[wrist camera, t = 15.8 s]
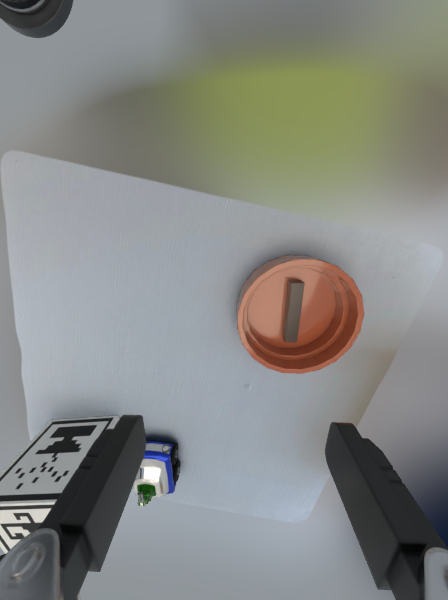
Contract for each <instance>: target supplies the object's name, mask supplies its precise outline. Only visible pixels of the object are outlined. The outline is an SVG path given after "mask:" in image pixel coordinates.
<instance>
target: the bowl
mask: <svg viewBox="0 0 448 600" xmlns="http://www.w3.org/2000/svg"><path fill="white" fill-rule="evenodd" d="M288 280H301V281H303V282H304V283H305V284H304V292H303V300H302V307H301V315H300V323H299V331H298V338H297V343H295V342H284V339H283V337H282V334H283V324H284V315H285V305H286V296H287V286H288ZM363 317H364V309H363V301H362V295H361V293H360V291H359V290H358V288H357V286H356V284H355V282H354V280H353V279H352V278H351V277H350V276H348V275H347V274H346V273H345V272H344V271H342V270H341V269H340V268H339V267H337V266H335V265H332V264H329V263H327V262H324V261H321V260H318V259H315V258H312V257H310V256H306V255H286V256H283V257H280V258H276V259H273V260H270V261H268V262H267V263H265V264H264V265H262V266H261V267H259V268H258V269H256V270H255V271H254V272H253V273H252V274H251V276H250V277H249V278H248V279H247V281H246V282H245V283H244V285H243V287H242V290H241V292H240V295H239V298H238V301H237V328H238V332H239V335H240V338H241V341H242V344H243V346H244V347H245V348H246V350H247V351H248V352H249V354H250V355H251V356H252V358H254V359H255V360H256V361H258V362H259V363H261V364H262V365H264V366H265V367H267V368H269V369H273V370H276V371H279V372H282V373H307V372H311V371H315V370H320V369H322V368H324V367H326V366H328V365H329V364H331V363H333V362H335V361H337V360H338V359H339V358H340V357H341V356H342V355H343V354H344V353H345V352H347V351H348V350H349V349H350V348H351V346H352V344H353V343H354V341H355V339H356V338H357V336H358V334H359V333H360V330H361V325H362V321H363Z"/></svg>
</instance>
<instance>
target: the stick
mask: <svg viewBox="0 0 448 600" xmlns="http://www.w3.org/2000/svg"><path fill="white" fill-rule="evenodd" d="M304 284H305V283H304V282H303V281H301V280H288V286H287V296H286V305H285V315H284V324H283V334H282V337H283V339H284V342H295V343H297V338H298V331H299V323H300V315H301V307H302V300H303V292H304Z"/></svg>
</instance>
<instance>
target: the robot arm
mask: <svg viewBox="0 0 448 600" xmlns="http://www.w3.org/2000/svg"><path fill="white" fill-rule="evenodd" d="M48 2H49V0H0V4H1V5H3V6H4V7H5V8H7V9H8V10H10V11H12V12H14V13H16V14H20V15H32V14H35V13H37V12H39V11H41V10H42V9H43V8H44V7H45V6H46V5H47V3H48ZM145 450H146V436H145V429H144V423H143V417H142V416H141V415H123V416H122V417H121V418H120V420H119V421H118V423H117V425H116V427H115V428H114V429H107V430H106V431H105V432H104V433H102V434H101V435H100V436H99V437H98V438H97V439H96V440H95V441H94V443H93V444H92V446H91V448H90V449H89V451H88V452H87V454H86V457H84V459H83V460H82V462H81V463H80V465H79V468H78V469H76V471H75V473H74V474H73V476H72V477H71V479H70V480H69V482H68V483H67V485H66V487H65V488H64V490H63V491H62V493H61V494H60V496H59V497H58V499H57V501H56V502H55V504H54V505H53V507H52V508H51V510H50V512H49V513H48V515H47V516H46V518H45V519H44V521H43V522H42V523H41V525H40V526H39V527H38V528H37V530H36V531H34V532H32V533H30V534H28V535H27V536H25V537H24V538H23V539H21V540H20V541H19V542H18V543H17V544H16V545H14V546H13V547H12V548H11V549H10V551H9V552H8V553H6V554H4V555H1V556H0V600H80V589H81V587H82V584H83V582H84V579H85V577H86V575H87V572H88V571H95V572H100V570H101V567H102V565H103V562H104V560H105V557H106V554H107V552H108V549H109V546H110V544H111V541H112V538H113V536H114V533H115V531H116V528H117V525H118V523H119V520H120V518H121V515H122V513H123V510H124V507H125V504H126V502H127V500H128V497H129V494H130V492H131V489H132V487H133V484H134V481H135V479H136V476H137V473H138V471H139V468H140V466H141V463H142V460H143V458H144V454H145ZM325 455H326V461H327V464H328V467H329V470H330V472H331V475H332V477H333V479H334V482H335V484H336V487H337V489H338V492H339V494H340V497H341V499H342V502H343V504H344V507H345V509H346V511H347V514H348V517H349V519H350V522H351V524H352V527H353V529H354V532H355V534H356V536H357V539H358V541H359V544H360V546H361V549H362V551H363V554H364V556H365V559H366V561H367V564H368V566H369V569H370V571H371V574H372V576H373V579H374V581H375V584H376V586H377V588H378V589H381V590H392V592H393V594H394V596H395V599H396V600H448V548H447V546H446V545H445V544H444V542H443V541H442V540H441V538H440V537H439V535H438V534H437V532H436V531H435V529H434V528H433V526H432V525H431V523H430V522H429V520H428V519H427V517H426V516H425V515H424V513H423V511H422V510H421V508H420V507H419V505H418V504H417V503H416V501H415V500H414V498H413V497H412V495H411V494H410V492H409V491H408V489H407V488H406V486H405V485H404V484H403V483H402V481H401V479H400V477H399V476H398V474H397V473H396V471H395V470H393V467H392V465H391V464H390V462H389V461H388V459H387V458H386V456H385V455H384V453H383V452H382V451H381V450H380V449H379V448H378V447H377V446H376V445H375V444H374V443H373V442H371V441H370V440H369V439H364V438H362V437H361V436H360V434H359V432H358V431H357V429H356V428H355V426H354V425H353V424H352V423H335V422H332V423H331V425H330V429H329V433H328V438H327V443H326V448H325Z"/></svg>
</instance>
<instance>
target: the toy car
mask: <svg viewBox="0 0 448 600" xmlns="http://www.w3.org/2000/svg"><path fill="white" fill-rule="evenodd" d="M177 456H178V444H168V443H163V442H155V441H148V442H146V450H145V454H144V458H143V460H142V463H141V466H140V468H139V471H138V473H137V476H136V479H135V481H134V484H133V485H134V491H135V493H136V495H137V496H138V498H139V499H138V504H139V506H146V504H148V502H149V501H151V498H157V497H159V496H162V495H165V494H170V493H173V492H174V490H175V486H176V481H177V480H178V478H179V473H180V461H177Z"/></svg>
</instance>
